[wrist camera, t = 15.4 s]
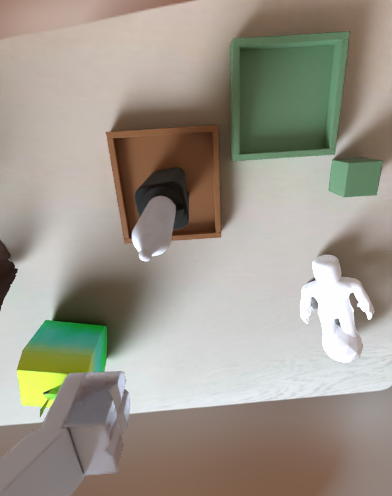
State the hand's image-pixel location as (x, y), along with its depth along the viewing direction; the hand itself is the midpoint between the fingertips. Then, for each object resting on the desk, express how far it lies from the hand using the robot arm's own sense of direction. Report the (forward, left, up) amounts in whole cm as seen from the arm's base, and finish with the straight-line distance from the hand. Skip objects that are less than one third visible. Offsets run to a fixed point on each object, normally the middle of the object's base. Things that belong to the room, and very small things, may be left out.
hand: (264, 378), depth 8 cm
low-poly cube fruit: (+27, -24, -36) cm, 51 cm away
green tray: (-10, +11, -36) cm, 39 cm away
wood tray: (0, -5, -36) cm, 36 cm away
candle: (0, -5, -35) cm, 36 cm away
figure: (+22, +21, -36) cm, 47 cm away
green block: (0, +21, -36) cm, 41 cm away
